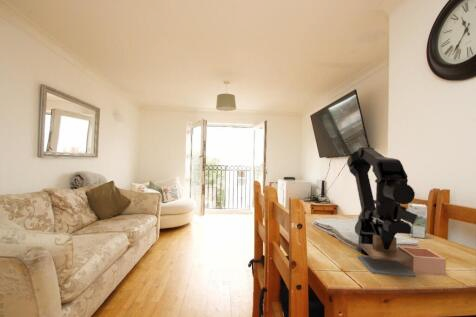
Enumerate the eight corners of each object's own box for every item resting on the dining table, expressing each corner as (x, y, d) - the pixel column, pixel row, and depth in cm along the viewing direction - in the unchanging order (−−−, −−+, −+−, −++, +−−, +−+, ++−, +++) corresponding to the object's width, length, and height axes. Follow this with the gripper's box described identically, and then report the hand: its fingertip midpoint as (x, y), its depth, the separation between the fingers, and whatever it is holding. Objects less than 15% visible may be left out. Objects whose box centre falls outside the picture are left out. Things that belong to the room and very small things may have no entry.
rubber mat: (371, 273, 75) (372, 271, 75) (357, 257, 87) (357, 255, 87) (415, 276, 74) (415, 274, 74) (394, 260, 86) (394, 258, 86)
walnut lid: (372, 258, 76) (373, 240, 75) (359, 245, 86) (360, 230, 86) (412, 261, 74) (413, 243, 74) (393, 248, 85) (394, 232, 85)
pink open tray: (413, 273, 76) (413, 256, 76) (397, 261, 85) (398, 246, 85) (445, 275, 75) (446, 259, 75) (426, 263, 84) (427, 248, 84)
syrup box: (421, 235, 116) (422, 203, 116) (426, 239, 110) (427, 205, 110) (407, 233, 118) (408, 202, 118) (411, 237, 112) (412, 204, 112)
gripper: (432, 205, 70) (430, 261, 70) (398, 195, 89) (396, 239, 89) (390, 203, 71) (388, 258, 71) (364, 193, 90) (363, 237, 90)
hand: (384, 247), depth 80 cm, fingers closed on walnut lid, 2 cm apart
